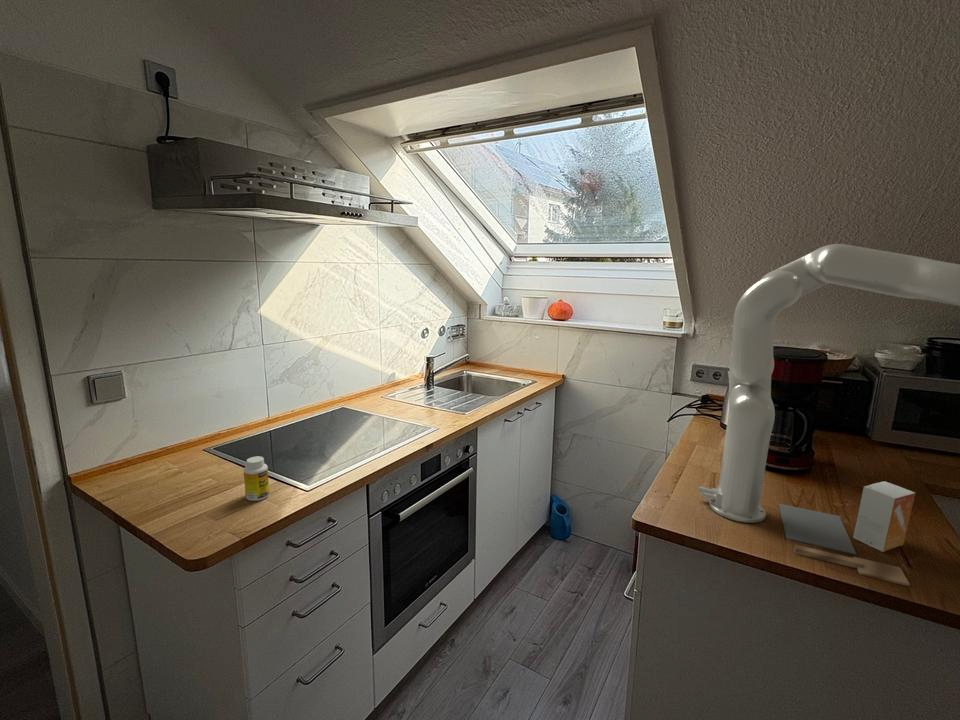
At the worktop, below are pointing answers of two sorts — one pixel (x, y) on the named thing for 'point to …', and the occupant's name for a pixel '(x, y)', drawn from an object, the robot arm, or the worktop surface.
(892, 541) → the small box
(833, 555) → the light wooden turner
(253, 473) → the supplement bottle
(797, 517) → the mat
